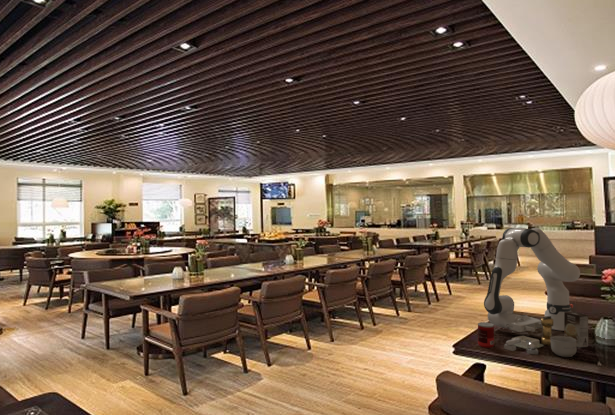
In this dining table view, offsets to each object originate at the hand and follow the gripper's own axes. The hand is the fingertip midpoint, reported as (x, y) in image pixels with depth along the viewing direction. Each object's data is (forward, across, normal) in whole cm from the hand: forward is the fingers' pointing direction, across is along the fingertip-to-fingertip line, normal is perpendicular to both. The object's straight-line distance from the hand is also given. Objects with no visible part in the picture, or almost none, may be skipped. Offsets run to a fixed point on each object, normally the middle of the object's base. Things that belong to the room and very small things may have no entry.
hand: (540, 328), depth 223 cm
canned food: (-11, -29, +7) cm, 32 cm away
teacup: (+17, -8, +7) cm, 20 cm away
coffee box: (+12, +12, +7) cm, 18 cm away
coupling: (+4, 0, +7) cm, 8 cm away
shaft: (+6, -18, +7) cm, 20 cm away
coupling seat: (-1, -15, +7) cm, 17 cm away
